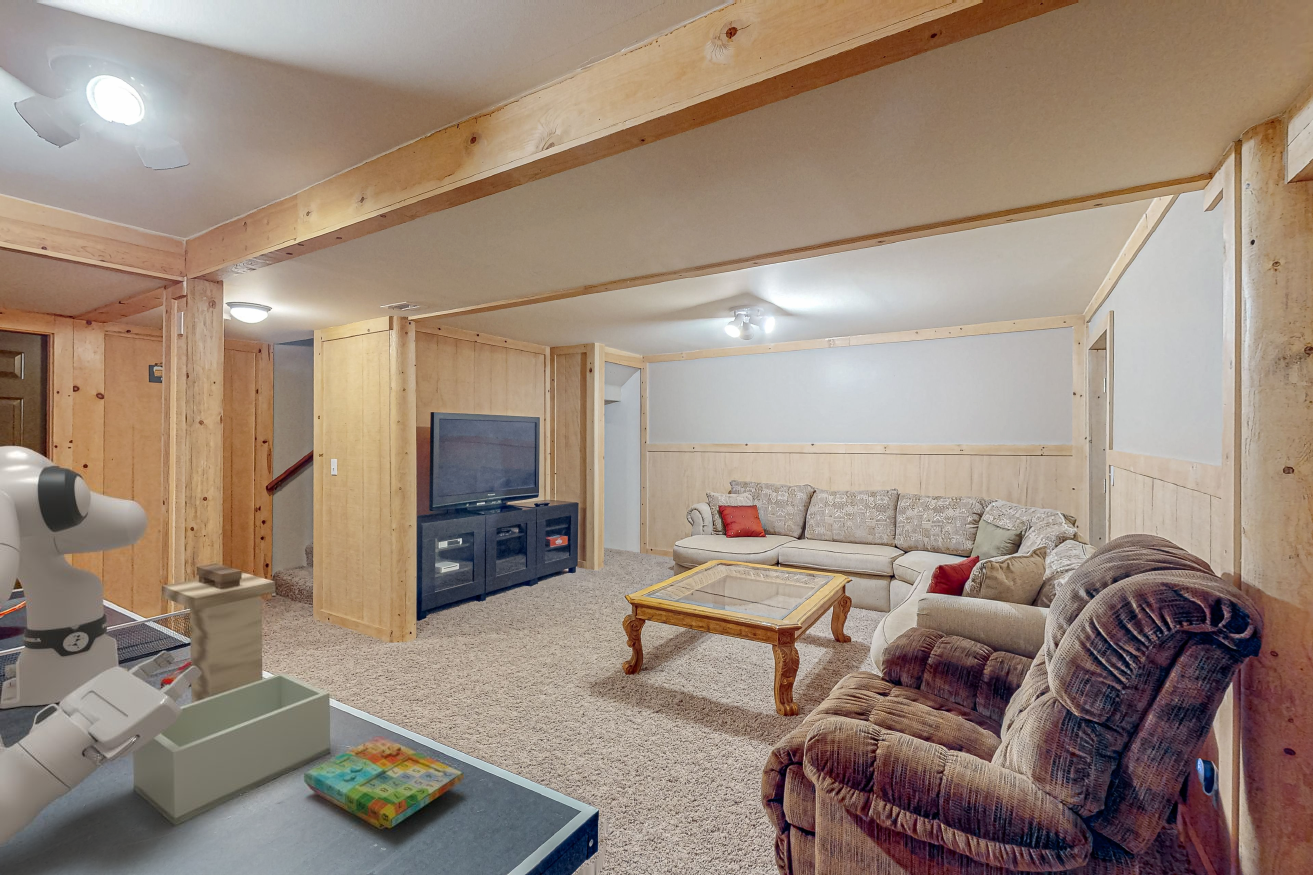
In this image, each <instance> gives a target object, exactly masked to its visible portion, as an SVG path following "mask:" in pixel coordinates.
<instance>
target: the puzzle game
mask: <svg viewBox="0 0 1313 875" xmlns="http://www.w3.org/2000/svg"><path fill="white" fill-rule="evenodd" d="M303 777H304V778H303V779H304V780H303V781H304V783H305V784H306V785H307V787H308V788H309V789H310V790H311V791H313V792H314V793H315V794H316V795H318V796H320V797H322V798H324V799H326V801H329V802H331V803H332V804H335V806H338V807H340V808H342V809H343V810H345V811H347V812H349V813H351V814H352V815H354V816H356V817H358V818H360V819H361V820H364V822H367V823H369V824H370V825H372V826H374V827H377V828H378V829H380V830H383V829H385V828H387V829H391V828H393V827H394V826H396V825H397V824H399V823H400V822H402V821H403V820H405V819H406V818H408V817H410V816H411V815H413V814H414V813H415V812H417V811H418V810H420V809H422V808H423V807H424V806H426V805H427V804H429V803H431V802H432V801H434V800H435V799H437V798H438V797H439V796H441V795H443V794H444V793H446V792H448V791H449V790H450V789H451V788H453V787H454V786H456V785H458V784H459V783H461V782H463V781H464V772H462V771H460V770H458V769H456V768H454V767H450V766H448V765H446V764H444V763H441V762H440V761H438V760H435V759H432V758H431V757H428V756H427V755H424V754H422V753H419V752H417V751H415V750H413V749H411V748H408V747H406V746H404V745H401V744H399V743H397V742H395V741H393V740H390V739H387V738H386V737H383V736H381V735H378V736H376V737H373V738H372V739H370V740H368V741H366V742H363V743H362V744H360V745H358V746H355V747H354V748H351V749H350V750H348V751H346V752H343V753H342V754H340V755H338V756H336V757H334V758H332V759H329V760H328V761H326V762H324V763H322V764H320V765H318V766H316V767H314V768H311V769H310V770H308V771H306V772H304V773H303Z"/></svg>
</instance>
